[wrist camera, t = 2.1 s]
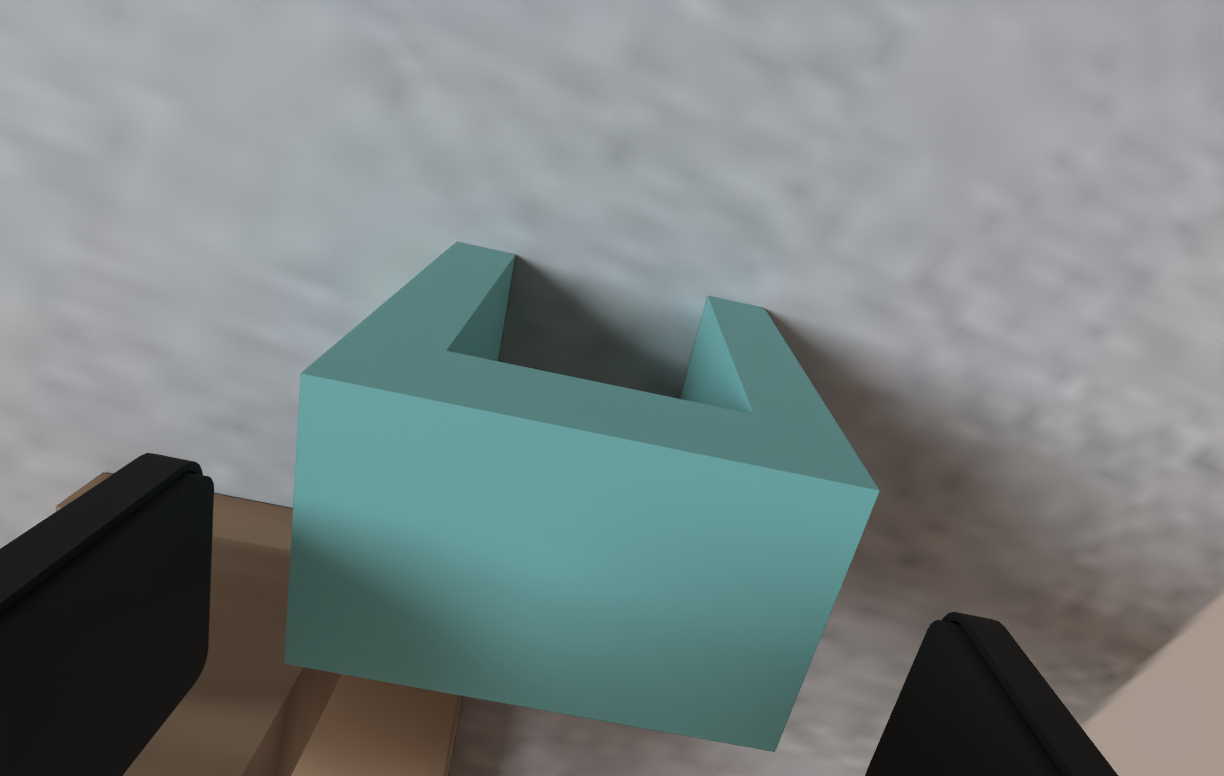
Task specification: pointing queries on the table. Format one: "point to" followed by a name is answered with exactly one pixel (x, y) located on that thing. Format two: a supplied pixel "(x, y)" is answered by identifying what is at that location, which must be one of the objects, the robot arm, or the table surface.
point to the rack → (284, 681)
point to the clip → (568, 518)
